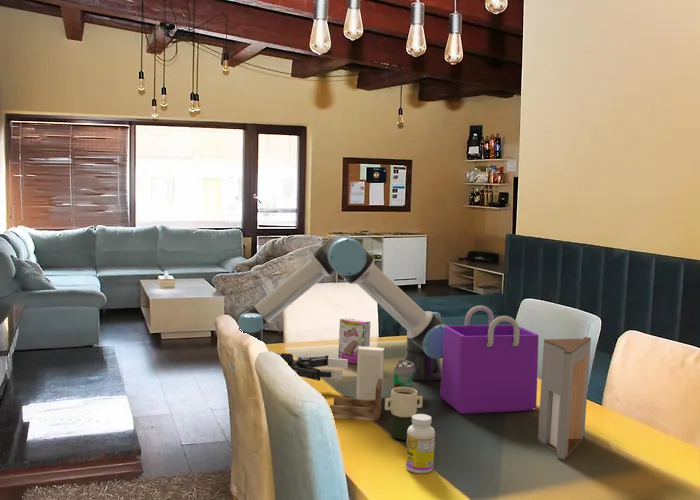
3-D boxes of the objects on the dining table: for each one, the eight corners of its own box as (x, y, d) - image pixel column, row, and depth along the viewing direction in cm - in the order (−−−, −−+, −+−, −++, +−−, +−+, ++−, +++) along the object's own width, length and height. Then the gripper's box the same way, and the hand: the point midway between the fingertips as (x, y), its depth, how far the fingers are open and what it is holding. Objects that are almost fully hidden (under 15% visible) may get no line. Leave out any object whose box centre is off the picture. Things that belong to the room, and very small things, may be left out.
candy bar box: (337, 361, 267) (339, 318, 265) (344, 358, 271) (346, 317, 269) (362, 366, 261) (364, 322, 259) (369, 363, 265) (371, 320, 263)
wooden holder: (380, 411, 209) (382, 378, 208) (378, 421, 200) (380, 387, 199) (334, 408, 211) (335, 375, 210) (329, 417, 202) (330, 383, 201)
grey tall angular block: (563, 461, 176) (570, 351, 173) (526, 452, 181) (532, 346, 178) (584, 437, 193) (590, 337, 191) (549, 429, 199) (555, 332, 196)
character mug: (415, 431, 193) (417, 385, 192) (426, 440, 186) (428, 393, 185) (378, 434, 190) (380, 387, 188) (388, 444, 183) (390, 395, 182)
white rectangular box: (382, 396, 224) (384, 347, 222) (381, 400, 219) (383, 350, 218) (357, 395, 225) (359, 346, 223) (355, 399, 220) (357, 349, 219)
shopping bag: (501, 390, 235) (506, 302, 233) (545, 410, 216) (551, 314, 213) (430, 398, 224) (434, 306, 221) (469, 420, 204) (474, 319, 201)
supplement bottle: (403, 463, 171) (405, 412, 169) (430, 463, 171) (432, 412, 170) (407, 474, 164) (410, 421, 163) (435, 474, 165) (438, 421, 163)
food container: (412, 400, 221) (413, 369, 220) (392, 398, 222) (394, 367, 221) (416, 389, 233) (417, 360, 232) (397, 387, 234) (399, 358, 233)
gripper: (287, 366, 237) (349, 370, 235) (270, 387, 212) (339, 392, 210) (287, 344, 236) (350, 348, 234) (270, 362, 212) (340, 367, 209)
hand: (345, 369), depth 222 cm, fingers open, 13 cm apart
